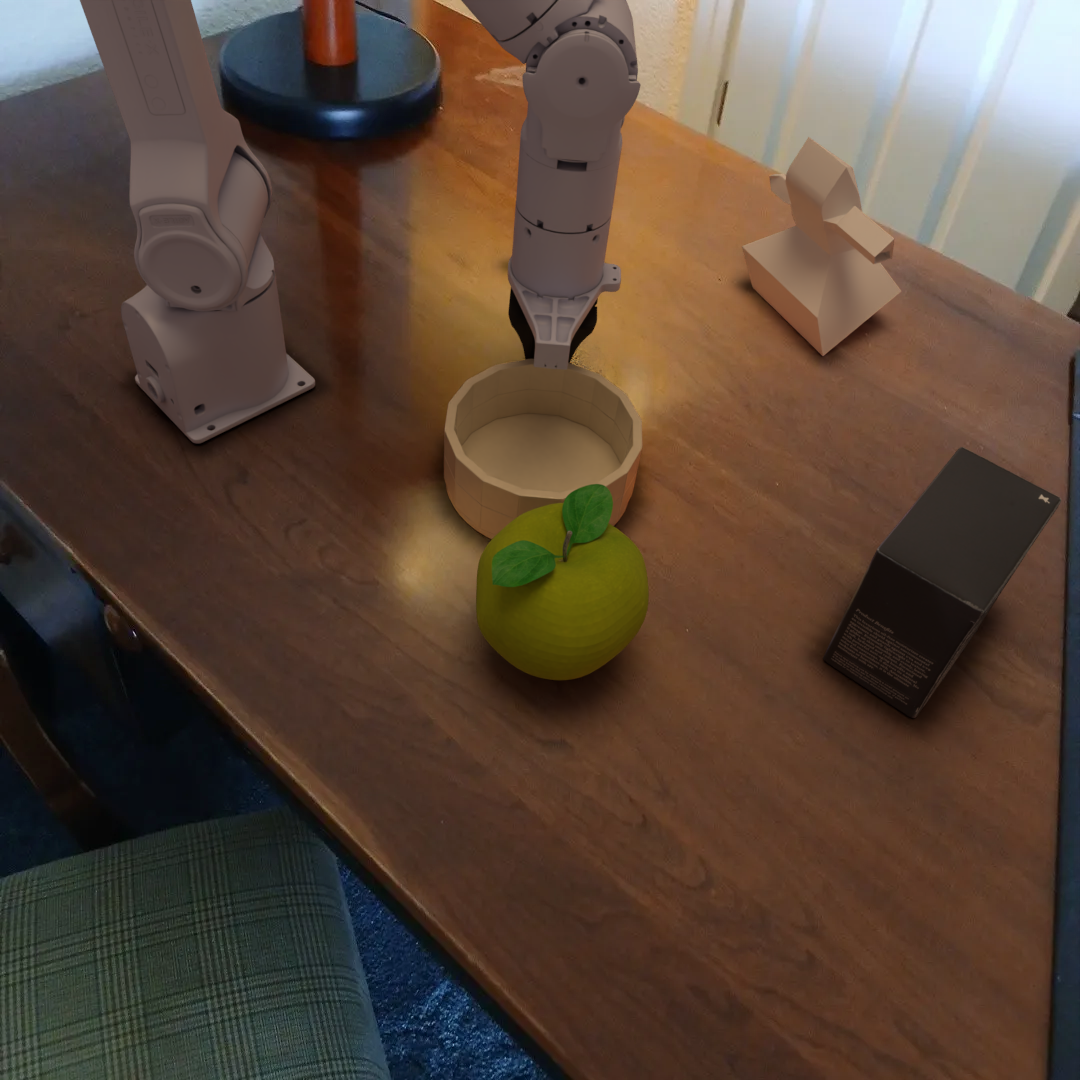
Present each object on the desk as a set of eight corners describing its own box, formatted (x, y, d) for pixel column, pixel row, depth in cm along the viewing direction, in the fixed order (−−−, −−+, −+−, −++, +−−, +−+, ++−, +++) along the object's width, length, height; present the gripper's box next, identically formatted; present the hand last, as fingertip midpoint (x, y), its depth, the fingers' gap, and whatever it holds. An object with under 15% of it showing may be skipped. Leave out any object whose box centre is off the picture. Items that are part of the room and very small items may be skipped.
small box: (896, 555, 67) (959, 438, 59) (990, 611, 65) (1070, 497, 57) (814, 657, 61) (872, 544, 53) (914, 723, 59) (991, 614, 51)
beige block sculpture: (794, 242, 89) (843, 84, 78) (904, 341, 81) (974, 181, 71) (713, 265, 86) (752, 104, 75) (819, 370, 78) (879, 208, 68)
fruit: (438, 642, 60) (439, 529, 52) (550, 556, 65) (566, 441, 57) (554, 746, 56) (573, 641, 49) (664, 647, 61) (697, 537, 53)
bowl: (532, 583, 63) (538, 530, 59) (406, 468, 68) (405, 412, 65) (668, 490, 69) (682, 436, 65) (543, 390, 74) (549, 335, 70)
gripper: (633, 287, 57) (602, 460, 68) (629, 147, 66) (603, 318, 77) (504, 275, 57) (493, 451, 67) (519, 137, 66) (507, 310, 77)
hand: (544, 380), depth 72 cm, fingers closed
